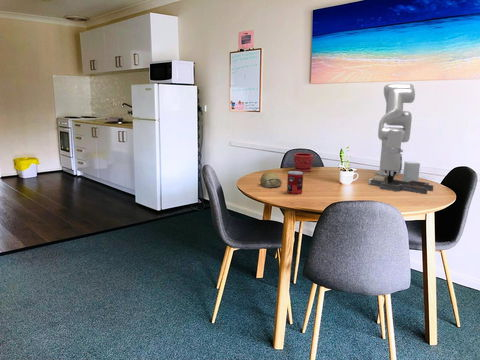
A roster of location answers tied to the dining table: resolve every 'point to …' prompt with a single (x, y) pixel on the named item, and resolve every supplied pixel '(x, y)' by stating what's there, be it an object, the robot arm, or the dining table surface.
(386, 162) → the robot arm
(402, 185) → the trap channel
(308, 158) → the plant pot
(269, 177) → the pastry
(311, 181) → the dining table surface
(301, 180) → the canned food
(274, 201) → the dining table surface
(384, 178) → the birch block
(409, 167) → the supplement box
